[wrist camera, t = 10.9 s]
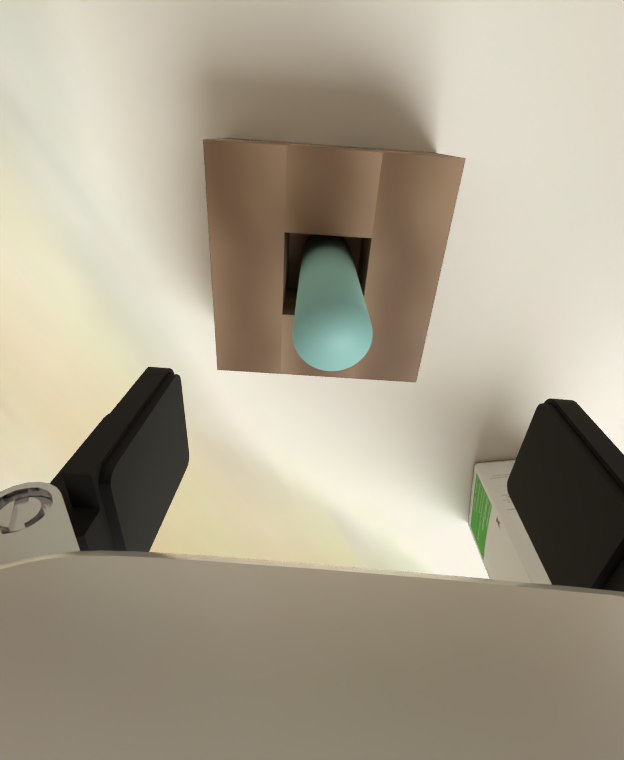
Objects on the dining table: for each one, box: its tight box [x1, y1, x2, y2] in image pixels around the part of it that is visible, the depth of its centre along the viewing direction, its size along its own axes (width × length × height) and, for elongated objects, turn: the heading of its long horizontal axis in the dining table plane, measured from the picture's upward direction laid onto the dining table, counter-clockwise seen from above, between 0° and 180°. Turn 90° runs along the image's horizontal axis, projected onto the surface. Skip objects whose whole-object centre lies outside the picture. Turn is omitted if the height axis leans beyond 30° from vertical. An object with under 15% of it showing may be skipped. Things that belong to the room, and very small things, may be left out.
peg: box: [292, 234, 373, 371], centre depth 21 cm, size 3×3×12 cm
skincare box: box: [468, 460, 552, 585], centre depth 31 cm, size 8×7×16 cm
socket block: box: [203, 138, 465, 382], centre depth 24 cm, size 12×12×6 cm
